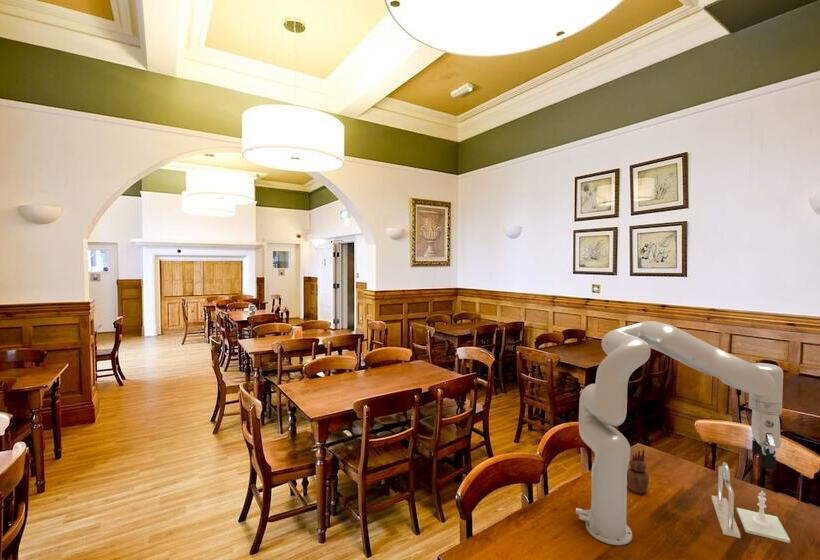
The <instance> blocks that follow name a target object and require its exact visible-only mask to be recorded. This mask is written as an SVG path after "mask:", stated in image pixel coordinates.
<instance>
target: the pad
mask: <svg viewBox="0 0 820 560" xmlns="http://www.w3.org/2000/svg"><path fill="white" fill-rule="evenodd" d="M736 512H737V515H738V517H739V520H740V522H741V525H742V527H743V530H744V532H745V533H747V534H751V535H754V536H759V537H764V538H768V539H772V540H774V541H775V540H776V541H780V542H784V543H787V544H791V539H790V537H789V535H788V533H787V532H786V529H785V528H784V526H783V524H782V523H781V521H780V519H779V518H778V516H776V515H771V514H768V513H767V514H766V513H764V514H765V518H766V519H767V520H769V521H770V522H771V523H772V528H762V527H759V526H757V525H755V524H754V523H752V521H751V517H752V516H758V513H759V511H753V510H749V509H745V508H739V507H736Z"/></svg>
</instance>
